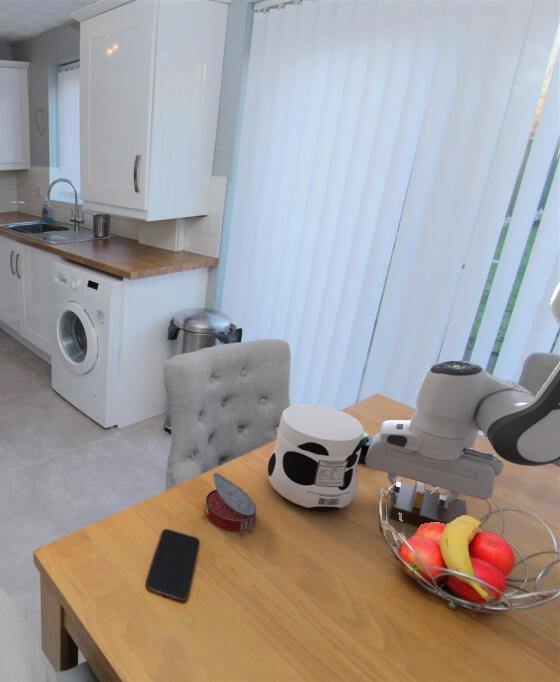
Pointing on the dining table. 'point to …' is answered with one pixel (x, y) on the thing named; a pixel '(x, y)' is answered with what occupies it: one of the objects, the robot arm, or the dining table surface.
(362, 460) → the alarm box
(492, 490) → the robot arm
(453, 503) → the lock plate
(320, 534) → the dining table surface
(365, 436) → the alarm button
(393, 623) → the dining table surface
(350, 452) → the milk container
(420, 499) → the lock knob
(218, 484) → the canned food
